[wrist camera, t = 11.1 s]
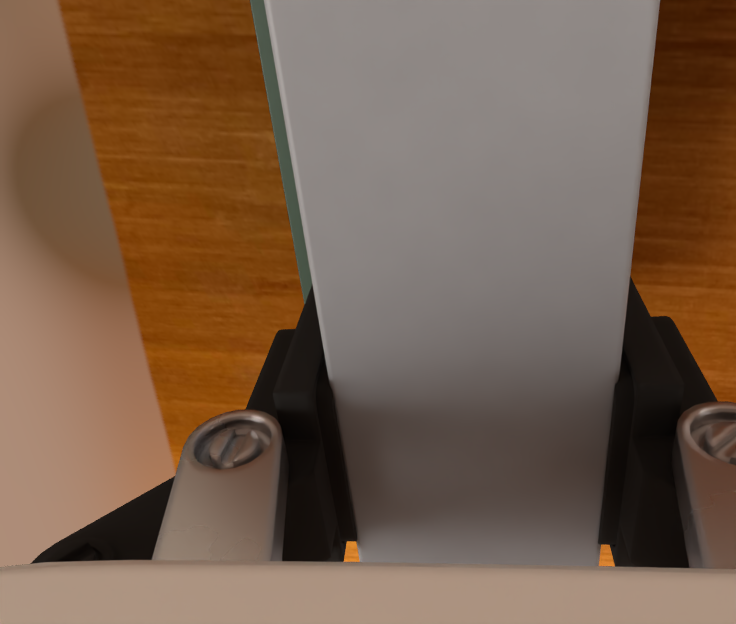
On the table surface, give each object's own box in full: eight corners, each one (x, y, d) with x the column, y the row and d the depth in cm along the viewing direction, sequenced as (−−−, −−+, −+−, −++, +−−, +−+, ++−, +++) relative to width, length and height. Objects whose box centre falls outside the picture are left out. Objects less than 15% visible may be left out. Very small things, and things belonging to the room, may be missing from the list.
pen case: (317, -110, 9) (239, -127, 6) (589, -147, 8) (684, -189, 5) (400, 562, 16) (388, 736, 13) (551, 564, 16) (580, 746, 12)
